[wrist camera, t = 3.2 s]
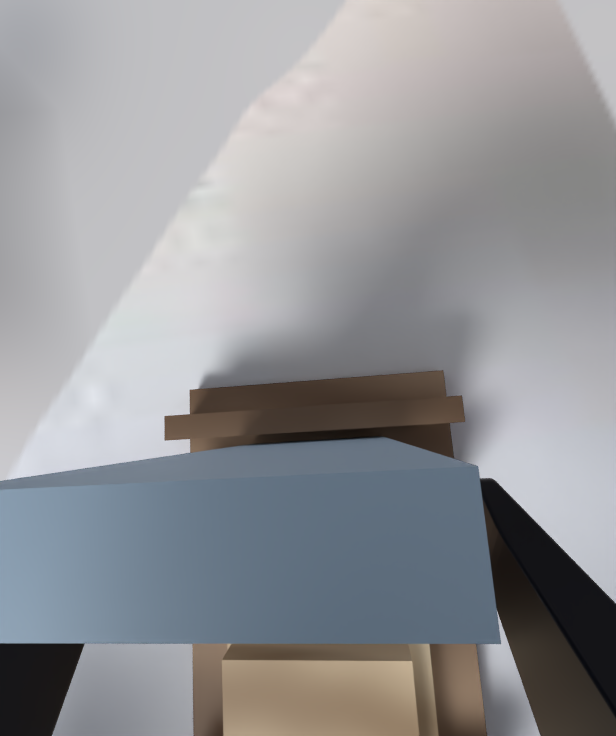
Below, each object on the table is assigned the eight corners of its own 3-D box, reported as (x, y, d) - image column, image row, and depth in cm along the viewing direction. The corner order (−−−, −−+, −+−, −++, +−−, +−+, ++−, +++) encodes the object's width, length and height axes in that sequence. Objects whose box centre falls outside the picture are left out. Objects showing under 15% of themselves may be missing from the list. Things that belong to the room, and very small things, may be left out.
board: (384, 470, 17) (500, 643, 3) (253, 476, 18) (-102, 643, 4) (381, 436, 17) (477, 466, 4) (251, 443, 18) (-87, 493, 4)
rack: (488, 790, 15) (523, 887, 12) (201, 778, 17) (164, 862, 14) (439, 372, 18) (457, 361, 15) (196, 391, 20) (164, 384, 16)
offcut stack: (437, 766, 15) (452, 828, 13) (239, 759, 16) (219, 816, 14) (423, 626, 16) (435, 661, 14) (236, 627, 17) (216, 659, 14)
